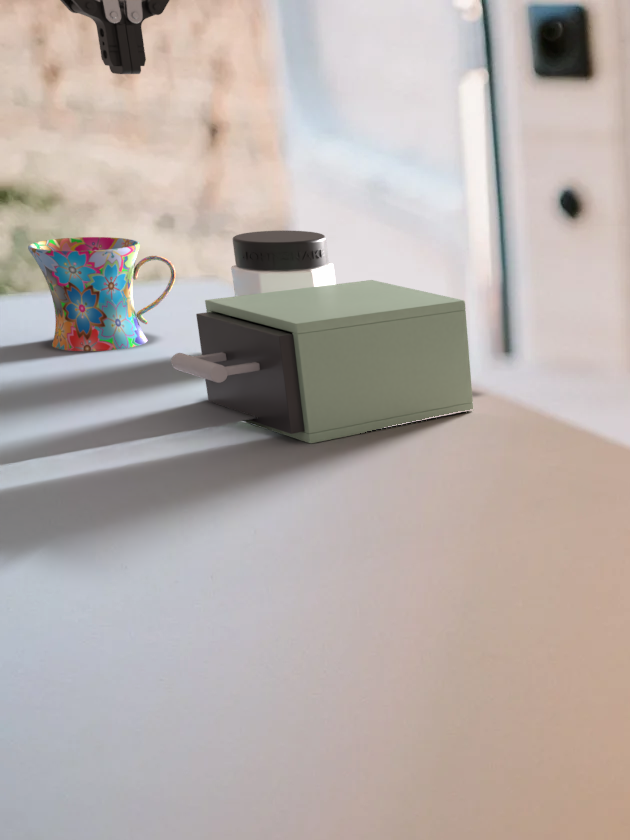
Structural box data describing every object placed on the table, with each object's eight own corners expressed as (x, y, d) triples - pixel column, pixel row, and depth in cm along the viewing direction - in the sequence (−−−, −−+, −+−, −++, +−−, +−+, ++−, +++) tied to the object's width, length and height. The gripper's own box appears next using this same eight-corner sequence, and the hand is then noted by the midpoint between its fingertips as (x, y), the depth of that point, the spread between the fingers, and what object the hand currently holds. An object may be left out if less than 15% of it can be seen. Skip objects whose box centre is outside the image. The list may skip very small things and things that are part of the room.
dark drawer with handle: (241, 443, 125) (227, 343, 122) (159, 415, 132) (145, 320, 129) (446, 404, 138) (438, 313, 136) (362, 380, 145) (353, 293, 142)
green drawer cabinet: (310, 443, 129) (296, 323, 125) (220, 413, 136) (204, 299, 133) (473, 411, 140) (465, 300, 137) (382, 385, 148) (372, 279, 144)
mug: (47, 369, 149) (26, 252, 145) (47, 350, 156) (28, 238, 152) (189, 361, 154) (173, 248, 150) (183, 342, 161) (168, 234, 158)
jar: (246, 375, 149) (228, 243, 145) (242, 357, 156) (225, 231, 152) (348, 369, 153) (334, 241, 148) (340, 352, 160) (326, 229, 155)
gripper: (150, -160, 129) (182, 70, 135) (-26, -176, 119) (17, 71, 125) (199, -162, 125) (229, 75, 131) (21, -180, 115) (62, 77, 121)
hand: (125, 73), depth 128 cm, fingers closed
